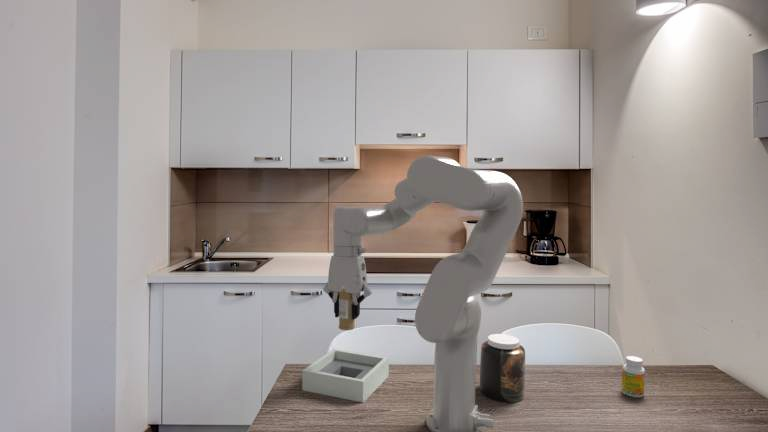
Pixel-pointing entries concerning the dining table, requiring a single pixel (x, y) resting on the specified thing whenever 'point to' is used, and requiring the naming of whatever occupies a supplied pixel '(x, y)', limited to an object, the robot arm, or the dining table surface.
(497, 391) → the jar
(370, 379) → the open box
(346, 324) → the sprinkles bottle
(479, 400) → the dining table surface
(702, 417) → the dining table surface
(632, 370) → the supplement bottle
